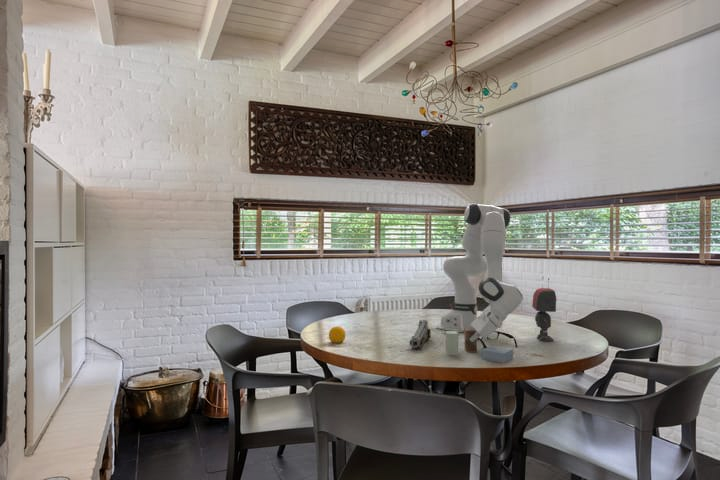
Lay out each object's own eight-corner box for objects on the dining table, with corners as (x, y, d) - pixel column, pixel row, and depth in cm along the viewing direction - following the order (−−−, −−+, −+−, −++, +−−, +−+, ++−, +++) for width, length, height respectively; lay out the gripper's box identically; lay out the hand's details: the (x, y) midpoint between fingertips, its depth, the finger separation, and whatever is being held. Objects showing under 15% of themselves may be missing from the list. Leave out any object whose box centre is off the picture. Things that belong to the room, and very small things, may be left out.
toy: (431, 338, 218) (430, 318, 216) (421, 360, 196) (421, 338, 194) (419, 337, 220) (418, 317, 218) (409, 358, 198) (408, 337, 196)
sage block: (447, 355, 188) (447, 333, 188) (445, 352, 193) (445, 331, 193) (458, 355, 188) (458, 333, 188) (456, 352, 192) (456, 331, 192)
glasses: (500, 341, 218) (500, 330, 218) (519, 348, 201) (519, 336, 201) (468, 342, 215) (468, 332, 216) (484, 349, 198) (484, 338, 198)
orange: (334, 339, 216) (334, 324, 216) (348, 341, 213) (348, 325, 213) (325, 343, 209) (325, 327, 209) (340, 345, 206) (340, 328, 206)
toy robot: (559, 345, 204) (559, 279, 204) (538, 344, 206) (538, 278, 206) (549, 335, 226) (549, 275, 225) (530, 334, 227) (530, 274, 227)
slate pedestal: (481, 359, 182) (481, 349, 182) (491, 355, 189) (491, 345, 189) (503, 363, 176) (503, 353, 176) (512, 359, 183) (512, 349, 183)
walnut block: (466, 351, 194) (466, 330, 194) (464, 349, 198) (464, 328, 198) (476, 351, 193) (476, 330, 193) (474, 349, 198) (474, 328, 198)
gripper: (482, 307, 206) (460, 328, 206) (492, 315, 185) (467, 339, 186) (492, 317, 205) (470, 338, 206) (503, 326, 185) (478, 350, 186)
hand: (469, 339), depth 196 cm, fingers open, 5 cm apart
